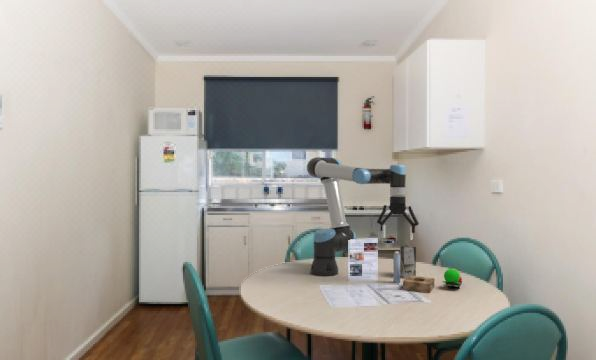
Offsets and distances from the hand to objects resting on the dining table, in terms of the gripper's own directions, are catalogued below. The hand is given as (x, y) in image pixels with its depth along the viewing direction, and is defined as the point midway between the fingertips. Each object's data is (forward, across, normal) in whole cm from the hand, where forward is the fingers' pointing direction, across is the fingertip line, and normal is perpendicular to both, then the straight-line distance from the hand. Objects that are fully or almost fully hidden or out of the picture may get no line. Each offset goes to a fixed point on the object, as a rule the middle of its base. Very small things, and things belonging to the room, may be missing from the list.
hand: (397, 238), depth 209 cm
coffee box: (+22, +2, +14) cm, 26 cm away
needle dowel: (+22, 0, -1) cm, 22 cm away
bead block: (+22, +12, -7) cm, 25 cm away
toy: (+22, +26, +3) cm, 34 cm away
